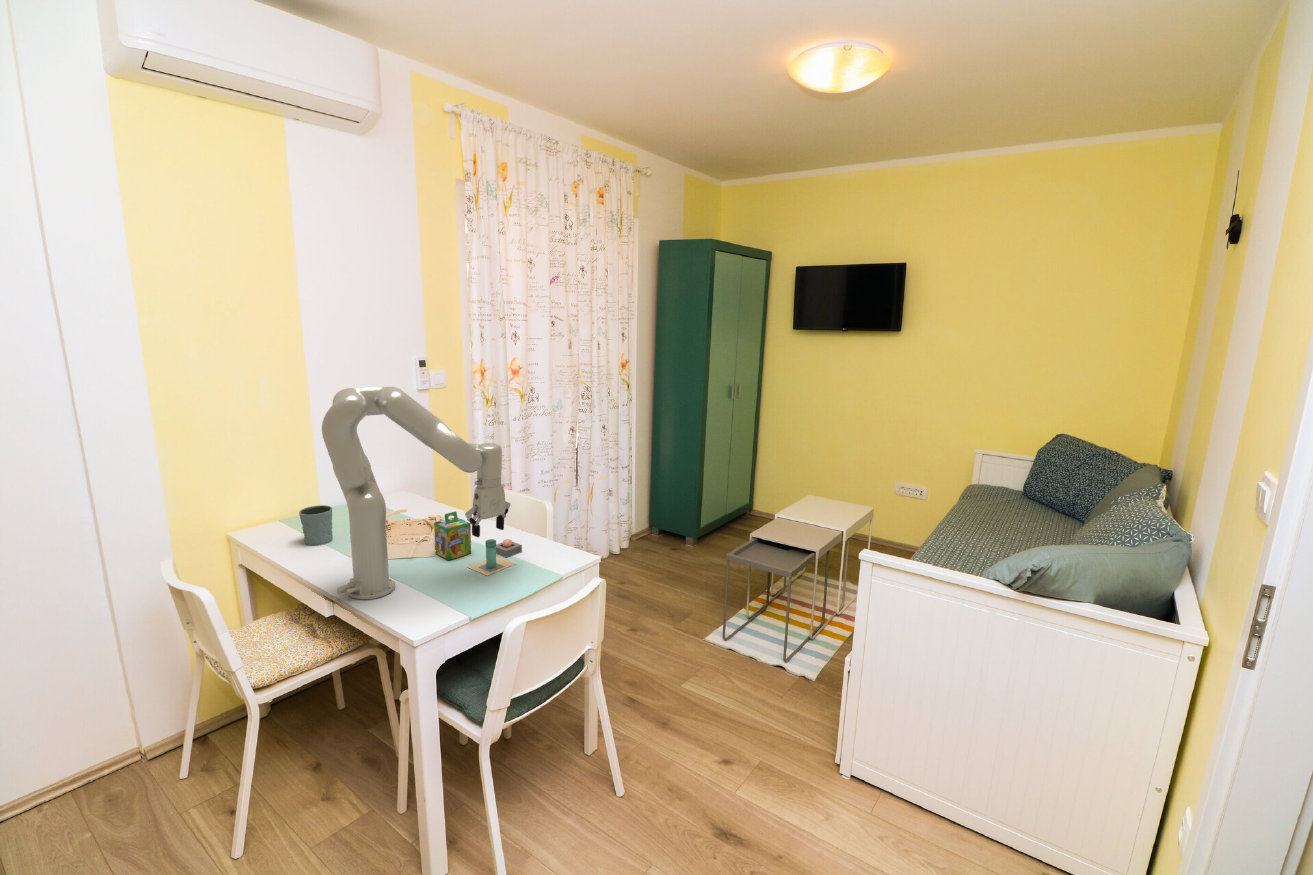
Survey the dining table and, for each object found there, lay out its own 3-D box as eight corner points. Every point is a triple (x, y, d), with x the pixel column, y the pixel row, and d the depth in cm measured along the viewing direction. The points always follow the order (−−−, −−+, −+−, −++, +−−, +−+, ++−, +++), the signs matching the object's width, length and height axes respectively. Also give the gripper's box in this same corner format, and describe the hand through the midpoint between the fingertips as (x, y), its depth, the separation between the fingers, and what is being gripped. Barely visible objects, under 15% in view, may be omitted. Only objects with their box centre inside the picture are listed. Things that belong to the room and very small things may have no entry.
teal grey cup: (340, 537, 215) (338, 506, 212) (322, 547, 205) (319, 515, 202) (314, 535, 216) (311, 504, 213) (295, 545, 206) (292, 513, 203)
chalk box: (448, 561, 198) (446, 519, 195) (434, 553, 204) (432, 513, 201) (472, 553, 205) (471, 513, 202) (458, 546, 211) (456, 507, 208)
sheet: (487, 575, 188) (487, 575, 188) (467, 567, 194) (467, 566, 194) (515, 564, 198) (515, 563, 198) (496, 556, 203) (496, 555, 203)
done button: (507, 550, 205) (506, 543, 204) (501, 547, 207) (501, 540, 206) (513, 547, 207) (513, 540, 207) (507, 545, 209) (507, 538, 209)
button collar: (506, 557, 203) (506, 550, 202) (493, 552, 206) (492, 545, 206) (521, 551, 208) (521, 544, 208) (508, 546, 212) (508, 540, 212)
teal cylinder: (490, 569, 192) (490, 543, 190) (483, 567, 194) (483, 541, 192) (498, 566, 195) (498, 541, 193) (492, 563, 197) (491, 538, 195)
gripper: (474, 489, 179) (473, 542, 182) (517, 479, 193) (516, 529, 196) (459, 484, 183) (458, 536, 186) (502, 475, 197) (501, 523, 200)
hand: (488, 532), depth 191 cm, fingers open, 9 cm apart
